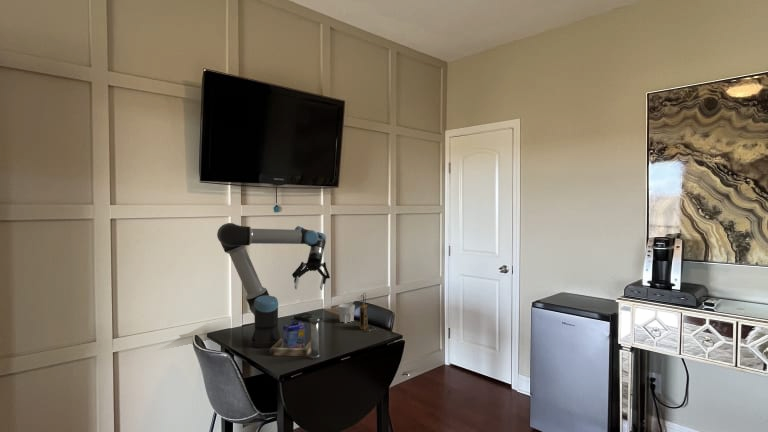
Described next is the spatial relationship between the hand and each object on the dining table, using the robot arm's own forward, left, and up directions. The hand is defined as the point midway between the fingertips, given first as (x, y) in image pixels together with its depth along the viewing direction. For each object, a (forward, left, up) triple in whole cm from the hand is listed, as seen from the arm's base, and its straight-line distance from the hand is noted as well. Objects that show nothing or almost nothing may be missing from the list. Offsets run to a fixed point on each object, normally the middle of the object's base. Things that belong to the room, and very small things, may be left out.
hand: (308, 288), depth 215 cm
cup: (+14, +38, -28) cm, 49 cm away
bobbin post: (+10, -24, -27) cm, 38 cm away
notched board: (-3, -14, -27) cm, 31 cm away
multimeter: (+30, +24, -28) cm, 47 cm away
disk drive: (-11, +42, -28) cm, 52 cm away
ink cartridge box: (-3, -14, -28) cm, 31 cm away
